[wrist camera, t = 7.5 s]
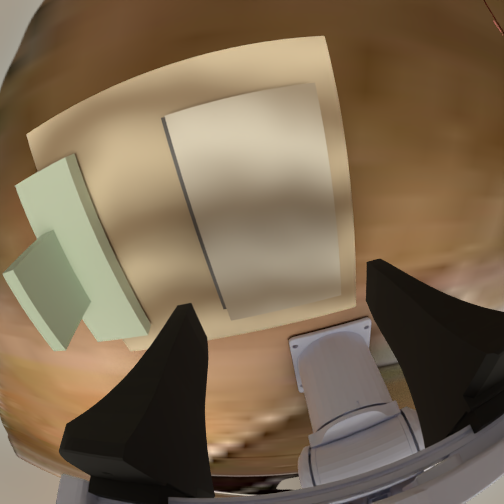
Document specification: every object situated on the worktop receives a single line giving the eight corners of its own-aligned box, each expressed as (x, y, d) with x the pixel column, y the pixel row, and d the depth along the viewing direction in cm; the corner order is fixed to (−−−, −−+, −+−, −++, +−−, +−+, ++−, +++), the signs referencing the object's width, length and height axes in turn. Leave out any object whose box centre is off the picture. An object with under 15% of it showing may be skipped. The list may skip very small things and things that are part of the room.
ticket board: (350, 295, 24) (362, 318, 21) (134, 339, 24) (126, 363, 22) (317, 40, 14) (332, 30, 11) (38, 131, 15) (13, 138, 12)
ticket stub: (151, 324, 21) (134, 387, 16) (102, 332, 22) (80, 388, 16) (74, 153, 14) (14, 181, 9) (24, 180, 15) (-32, 215, 9)
